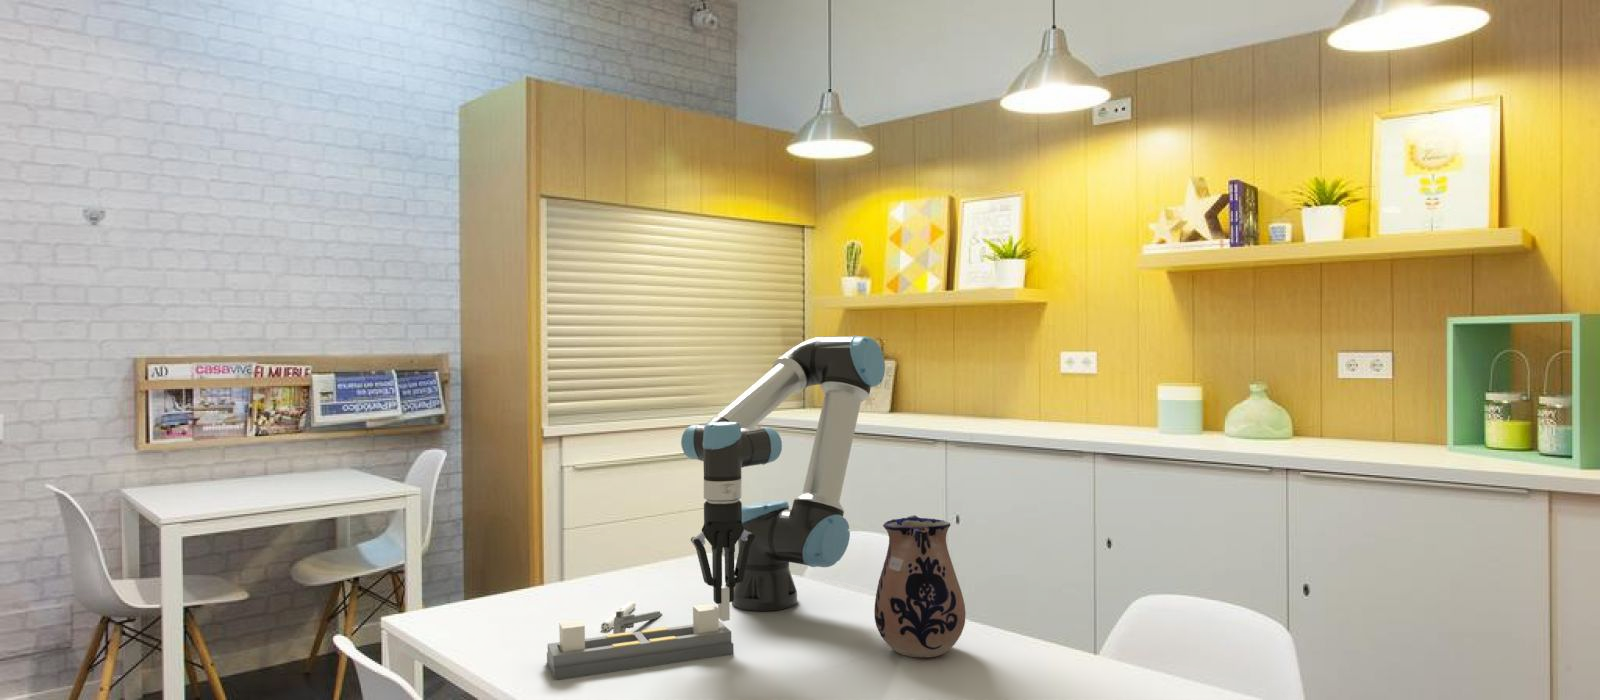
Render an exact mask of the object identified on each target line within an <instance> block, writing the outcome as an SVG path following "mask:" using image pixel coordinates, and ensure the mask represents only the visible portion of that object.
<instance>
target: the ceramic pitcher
mask: <svg viewBox="0 0 1600 700" xmlns="http://www.w3.org/2000/svg"><path fill="white" fill-rule="evenodd" d="M882 526H883V528H884V529H885V530H886V531H887V534H888V538H889V539H888V547H887V551H886V555H885V560H884V563H883V567H882V570H881V572H880V576H879V580H878V584H877V588H876V593H875V601H874V623H875V625H876V629H877V631H878V633H879V635H880V637H881V638H882V639H883V641H884V642H885V643H886V645H888V646H889V647H890V648H891V650H894V652H896V653H898V654H900V655H903V656H906V657H912V658H936V657H939V656H941V655H944V654H946V653H947V652H948V651H949V650H951V649H952V648H953V647H954V646H955V645H956V643H957V642H958V640H959V639H960V637H961V635H962V632H963V630H964V629H965V628H964V627H965V624H966V604H965V600H964V597H963V592H962V590H961V586H960V584H959V581H958V578H957V574H956V572H955V569H954V566H953V565H954V564H953V562H952V559H951V556H950V553H949V552H950V551H949V549H948V544H947V533H948V532H949V531H948V530H949V528H950V527H951V522H948V521H946V520H944V519H935V518H928V517H918V516H917V515H916V514H915V515H910V516H907V517H902V518H896V519H894V518H893V519H891V520H887V521H886V522H884V524H882Z"/></svg>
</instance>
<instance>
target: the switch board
mask: <svg viewBox="0 0 1600 700" xmlns="http://www.w3.org/2000/svg"><path fill="white" fill-rule="evenodd" d="M734 649H735V648H734V643H733V642H732V631H731V630H730V629H729V628H728V627H727V626H726V625H725V624H724V623H722V621H721V620H719V631H714V632H706V633H699V634H693V624H687V625H686V624H685V625H680V626H674V627H673V626H672V627H667V626H664V627H658V628H650V629H641V631H635V632H632V631H625V633H617V634H613V633H612V634H611V633H610V634H605V635H603V636H596V637H588V638H585V649H582V650H574V651H567V652H560V641H558V642H552V643H551V642H549V643H547V652H546V664H547V667H548V669H549V670H550V673H551V675H552V677H553V680H554V679H555V680H554V681H557V680H564V679H571V678H577V677H579V678H580V677H585V676H591V675H599V674H605V673H612V672H619V671H624V670H633V669H638V668H644V667H645V668H646V667H647V668H648V667H654V666H659V664H661V665H667V663H668V664H672V663H680V662H688V661H694V660H700V659H706V658H707V659H708V658H714V657H722V656H729V655H734Z"/></svg>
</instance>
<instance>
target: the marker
mask: <svg viewBox="0 0 1600 700" xmlns="http://www.w3.org/2000/svg"><path fill="white" fill-rule="evenodd" d="M635 609H636V602H634V601H631V600H629V601H628V602H627V603H625V604H624V605H623V606H621V607H620V608H619V609H618V610H617V612H619V611H624V615H629V614H631V612H633V611H634V610H635ZM632 610H633V611H632ZM615 617H616V612H614V613H613V614H612V615H610V616H609V617H608V618H607V619H606V620H604V621H602V623H601V625H600V629H601V630H602V631H605V630H606V631H607V630H609V631H610V630H611V629H613V626H614V618H615Z"/></svg>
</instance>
